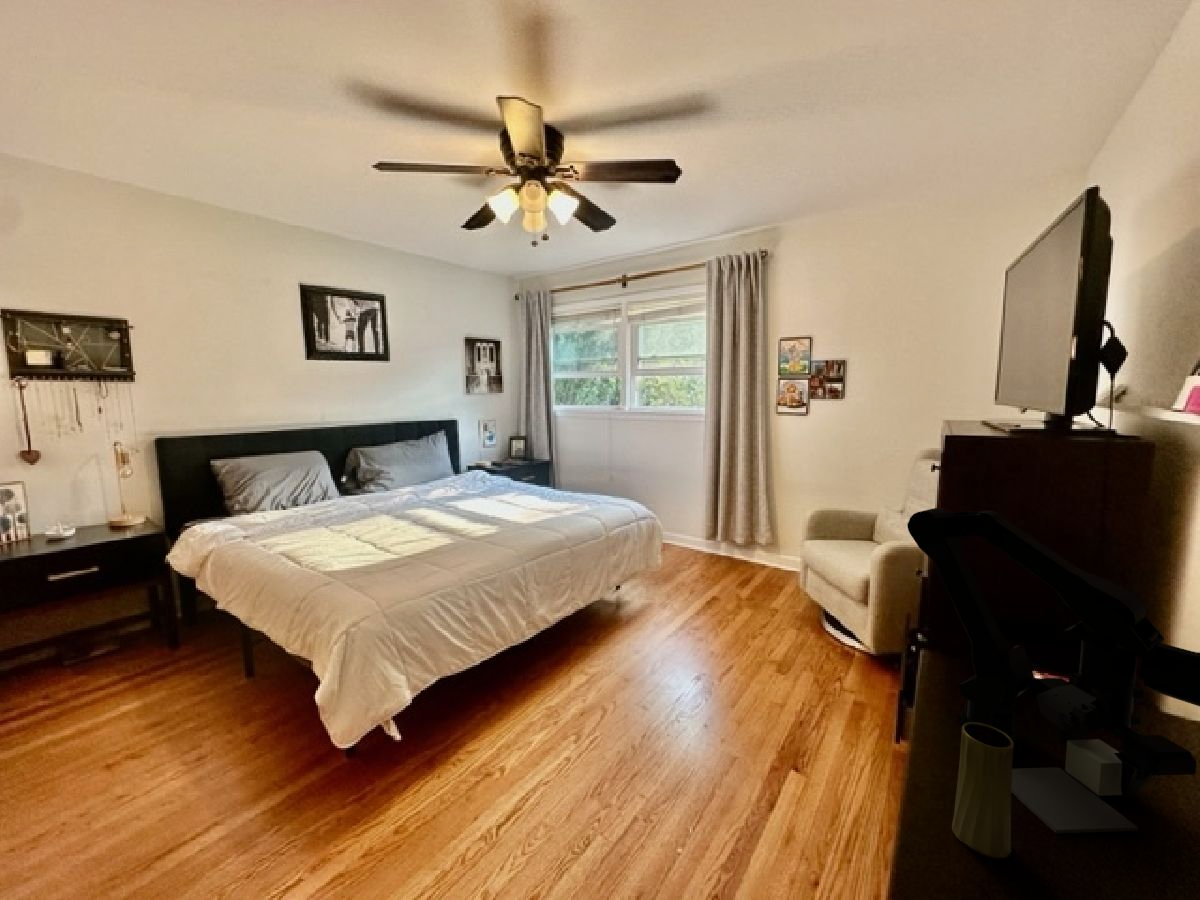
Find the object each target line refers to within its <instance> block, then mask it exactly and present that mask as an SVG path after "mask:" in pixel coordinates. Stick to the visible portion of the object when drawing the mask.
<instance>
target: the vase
mask: <svg viewBox="0 0 1200 900" xmlns="http://www.w3.org/2000/svg"><path fill="white" fill-rule="evenodd" d="M1014 745H1015V742H1013V740H1012V739H1011V738H1010V737H1009V736H1008V735H1007V734H1006V733H1004V732H1002V731H1001V730H999V729H997V728H994V727H992V726H989V725H986V724H982V723H975V722H969V723H965V724H964V725H962V727H961V739H960V751H959V763H958V766H959V767H958V774H957V783H956V791H955V802H954V810H953V811H954V812H953V819H952V823H951V829H952V833H953V834H955V835H954V836H955V838H956V839H957V838H958V839H959V840H960V841H962V842H963V843H965V844H967V845H968V846H970V847H971V848H973V849H976V850H978V851H980V852H982V853H984V854H986V855H990V856H993V857H994V856H995V857H998V858H999V857H1001V858H1002V857H1007V856H1008V855H1009V854H1010V853H1011V854H1012V844H1011V843H1012V842H1011V841H1012V840H1011V835H1012V833H1011V832H1012V831H1011V829H1012V827H1011V826H1012V812H1011V811H1012V808H1011V807H1012V806H1011V805H1012V793H1011V786H1012V769H1013V758H1014V748H1015V747H1014ZM958 839H957V840H958ZM959 840H958V841H959ZM960 841H959V842H960ZM1011 854H1010V855H1011ZM1010 855H1009V856H1010ZM1009 856H1008V857H1009ZM1008 857H1007V858H1008Z"/></svg>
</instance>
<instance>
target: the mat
mask: <svg viewBox="0 0 1200 900" xmlns="http://www.w3.org/2000/svg"><path fill="white" fill-rule="evenodd" d="M1012 793H1013V794H1014V795H1015V796H1016V797H1017V800H1018V801H1020V803H1022V804H1023V805H1024V806H1025V807H1026V808H1027V809H1028V810H1030V811H1031V812H1032V814H1034V815H1035V816H1037V818H1039V820H1041V822H1043V824H1045V825H1046V826H1047V827H1049V828H1050V830H1051V831H1052V832H1054V833H1055V834H1077V833H1078V834H1082V833H1083V834H1085V833H1112V832H1137V831H1138V830H1139V829H1138V828H1139V827H1138V826H1137V825H1136V824H1134V823H1133V822H1131V820H1129V819H1127V817H1125V816H1124V815H1122V814H1121V813H1119V812H1118V811H1117V810H1116V809H1114V808H1113V807H1112V806H1111V805H1110V804H1108V803H1107V802H1105V801H1104V800H1102V799H1101V798H1100V797H1099V796H1098V795H1097V794H1095V793H1094V792H1093V791H1091V790H1090V789H1089V788H1087V787H1086V786H1085V785H1083V784H1082V783H1081V782H1080V781H1078V780H1077V779H1076V778H1074V777H1073V776H1072V775H1070V774H1069V773H1068V772H1066V771H1065V770H1063V769H1062V768H1061V767H1057V766H1056V767H1023V768H1012V786H1011V794H1012ZM1013 794H1012V795H1013ZM1014 795H1013V796H1014ZM1015 796H1014V797H1015ZM1016 797H1015V798H1016Z"/></svg>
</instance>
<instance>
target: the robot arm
mask: <svg viewBox="0 0 1200 900" xmlns="http://www.w3.org/2000/svg"><path fill="white" fill-rule="evenodd" d="M906 523H907V525H906V526H907V531H908V533H909V535H910V536H911V538H912V539H913V541H914V542H915V543H916V546H918V548H919V549H920V550H921V551H922V552H923V553H924V554H925V555H926V556H927V557H928V558H930V560H932V561H933V563H934V565H935V567H936V570H937V571H938V573H939V575H940V577H941V580H942V582H943V585H944V587H945V589H946V591H947V593H948V595H949V598H950V600H951V601H952V603H953V606H954V608H955V610H956V612H957V614H958V617H959V618H960V622H961V623H962V626H963V627H964V630H965V632H966V634H967V636H968V638H969V641H970V645H971V664H972V668H973V671H974V675H973V676H971V677H969V678H967V679H966V680H964V681H963V682H961V683H960V684H959V685H958V687H959V691H960V694H961V696H962V698H964V699H965V702H964V703H965V707H964V715H962V716H960V715H959V716H956V717H955V719H956V721H957V722H958V723H960V725H962V726H963V725H964V724H965V723H969V722H975V723H982V724H986V725H989V726H992V727H994V728H997V729H999V730H1001V731H1002V732H1004V733H1006V734H1007V735H1008V736H1009V737H1010V738H1011V739H1012V740H1013V743H1021V738H1020V737H1019V735H1016V734H1015V732H1014V727H1015V725H1014V723H1015V717H1014V705H1012V704H1011V702H1012V701H1013V700H1016V698H1018V697H1020V696H1021V695H1022V694H1023V693H1024V692H1026V691H1027V690H1029V692H1028V695H1029V696H1030V697H1031V698H1033V699H1035V700H1036V701H1037V703H1038V704H1037V705H1038V706H1039V710H1040V714H1041V716H1042V717H1043V719H1045V720H1048V721H1050V722H1052V723H1053V724H1054V725H1056V727H1057V729H1058V732H1059V734H1060V737H1061V740H1062V743H1063V745H1064V749H1065V752H1066V751H1067V740H1084V737H1085V733H1087V734H1091V733H1094V732H1098V731H1099V730H1102V729H1103V730H1105V731H1107V732H1108V733H1110V734H1111V735H1114V736H1115V737H1117V738H1118V739H1120V740H1121V741H1122V742H1121V751H1122V752H1120V753H1115V755H1116V756H1117V757H1118V758H1119V760H1120V761H1121V762H1122V775H1121V792H1122V795H1121V796H1123V797H1124V798H1131V797H1134V795H1135V794H1136V793H1137V792H1138V791H1140V790H1141V789H1142V788H1143V787H1144V786H1145V785H1146V784H1147V783H1148V782H1149V781H1150V780H1151V779H1152V778H1154V777H1155V776H1184V775H1185V776H1186V775H1187V776H1188V775H1190V776H1191V775H1196V774H1197V764H1198V762H1197V758H1196V756H1194V754H1192V752H1190V751H1189V750H1188V749H1186V748H1184V747H1183V746H1181V745H1179V744H1177V743H1176V742H1173V741H1172V740H1170V739H1168V738H1166V737H1165V736H1163V735H1162V734H1146V735H1145V734H1144V735H1143V734H1140V733H1138V732H1137V731H1136V730H1134V729H1132V728H1131V727H1132V726H1134V725H1139V726H1140V725H1141V717H1140V716H1138V715H1136V714H1134V713H1133V710H1134V699H1135V698H1143V694H1144V690H1143V689H1141V688H1140V687H1138V686H1136V676H1137V669H1138V668H1137V665H1138V657H1139V658H1140V659H1141V661H1140V666H1139V678H1140V679H1139V680H1141V681H1143V686H1144V687H1148V688H1149V690H1150V691H1152V692H1155V693H1157V694H1161V695H1164V696H1166V697H1170V698H1173V699H1175V700H1178V701H1182V702H1185V703H1188V704H1191V705H1193V706H1197V707H1200V651H1199V652H1196V651H1192V650H1189V649H1185V648H1181V647H1177V646H1173V645H1170V644H1167V643H1163V642H1164V641H1165V637H1164V636H1163V634H1161V632H1160V631H1159V629H1158V628H1156V626H1155V625H1154V623H1152V621H1151V620H1150V619H1149V618H1148V616H1146V613H1147V612H1146V608H1145V604H1144V603H1145V602H1143V600H1142V598H1140V597H1139V596H1138V595H1137V594H1136V593H1134V592H1132V591H1131V590H1129V589H1127V588H1124V587H1123V586H1120V585H1118V584H1117V583H1115V582H1113V581H1111V580H1109V579H1106V578H1104V577H1102V576H1099V575H1095V574H1093V573H1092V572H1088V571H1085V570H1084V569H1081V568H1079V567H1077V566H1075V565H1074V564H1073V563H1071V562H1070V561H1068V560H1066V559H1065V558H1064V557H1062V556H1061V555H1060V554H1058V553H1056V552H1055V551H1054V550H1052V549H1051V548H1049V547H1047V546H1046V545H1045V544H1044V543H1042V542H1040V541H1039V540H1037V539H1036V538H1034V537H1033V536H1031V535H1030V534H1028V533H1027V532H1025V531H1024V530H1023V529H1021V528H1019V527H1018V526H1017V525H1015V524H1013V523H1012V522H1011V521H1009V520H1008V519H1006V518H1005V517H1004V515H1002V514H1001V513H1000V512H998V511H996V510H990V509H989V510H984V511H983V510H982V511H952V510H949V509H946V508H945V507H944V508H943V507H936V508H935V507H934V508H929V509H924V510H921V511H917V512H915V513H913V514H912V515H911V516H910V517H909V519H908V522H906ZM977 536H978V537H981V538H983V539H984V540H985V541H987V542H988V543H989V544H991V545H993V547H995V548H997V549H998V550H1000V551H1001V552H1003V554H1005V555H1007V556H1008V557H1009V558H1010V559H1011V560H1013V561H1015V562H1016V563H1017V564H1019V565H1020V566H1022V567H1023V568H1024V569H1026V570H1027V571H1029V572H1030V573H1031V574H1032V575H1034V576H1036V578H1038V579H1040V580H1041V581H1042V582H1044V583H1045V584H1047V586H1049V587H1051V588H1052V589H1053V591H1055V592H1056V593H1057V594H1058V595H1059V597H1060V598H1061V600H1062V601H1063V602H1064V604H1065V605H1066V606H1067V607H1068V609H1069V610H1070V611H1071V612H1072V613H1074V615H1076V617H1078V619H1080V621H1079V622H1077V623H1076V624H1075V625H1071V626H1070V627H1068V628H1066V629H1064V630H1063V635H1064V636H1066V637H1068V638H1072V639H1077V640H1079V641H1081V644H1080V659H1079V669H1078V672H1071V673H1070V676H1068V681H1067V680H1065V679H1064V678H1062V677H1057V678H1055V677H1054V678H1049V677H1048V678H1035V676H1034V672H1035V670H1036V667H1035V666H1034V665H1033V664H1032V663H1031V661H1030V659H1029V658H1028V655H1027V651H1026V649H1025V647H1024V645H1022V644H1018V645H1015V646H1014V645H1013V644H1012V643H1011V642H1010V641H1009V640H1007V638H1006V637H1004V635H1003V633H1002V632H1001V630H1000V628H999V626H998V624H997V622H996V619H995V616H994V615H993V613H992V611H991V608H990V606H989V605H988V603H987V601H986V598H985V596H984V594H983V592H982V590H981V588H980V586H979V584H978V582H977V580H976V577H975V576H974V574H973V572H972V569H971V567H970V565H969V563H968V561H967V559H966V557H965V555H964V537H977Z"/></svg>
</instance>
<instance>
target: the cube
mask: <svg viewBox="0 0 1200 900" xmlns="http://www.w3.org/2000/svg"><path fill="white" fill-rule="evenodd" d="M1065 752H1066V754H1065V763H1064V764H1065V765H1064V766H1065V767H1064V772H1066V773H1067V774H1068V775H1070V776H1071V777H1072V778H1074V779H1075V780H1076V781H1078V782H1079V783H1080V784H1082V785H1083V786H1084V787H1085V788H1087V789H1088V790H1089V791H1091V792H1092V793H1093V794H1095V795H1096V796H1097V797H1099V796H1100V797H1101V796H1123V795H1122V792H1121V775H1122V762H1121V761H1120V760H1119V758H1118V757H1117V756H1116V755H1115V753H1121V751H1118V750H1116V749H1115V748H1114V747H1111V746H1110V745H1109V744H1107V743H1105V742H1104V741H1102V739H1099V738H1097V739H1094V738H1093V739H1083V740H1067V751H1066V750H1065Z"/></svg>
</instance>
